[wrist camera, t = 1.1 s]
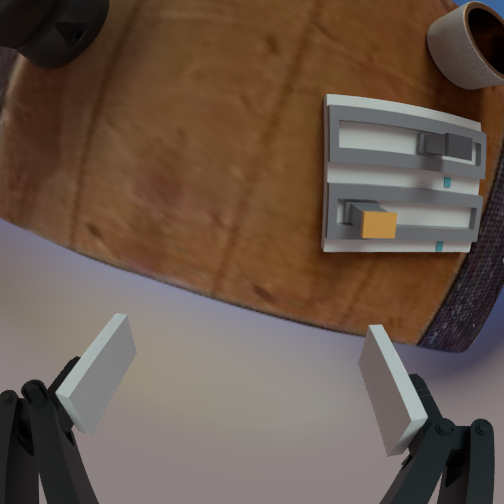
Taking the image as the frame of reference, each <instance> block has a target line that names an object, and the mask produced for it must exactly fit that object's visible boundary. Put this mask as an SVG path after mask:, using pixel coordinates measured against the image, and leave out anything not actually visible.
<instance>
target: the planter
mask: <svg viewBox="0 0 504 504" xmlns="http://www.w3.org/2000/svg"><path fill="white" fill-rule="evenodd" d="M427 44H428V48H429V52H430V54H431V57H432V59H433V61H434V62H435V64H436V66H437V67H438V69H439V70H440V71H441V72H442V74H443V75H444V76H445V77H446V78H447V79H448V80H449V81H451V82H452V83H453V84H455V85H456V86H458V87H460V88H463V89H470V90H474V89H479V88H485V87H490V86H495V85H501V84H504V19H503V18H502V17H501V16H500V15H499V14H498V13H497V12H496V11H494V10H493V9H492V8H490V7H489V6H487V5H485V4H483V3H481V2H477V1H471V2H468V3H466V4H464V5H463V6H461V7H459V8H457V9H455V10H454V11H452V12H450V13H448V14H447V15H445V16H443V17H441V18H440V19H438V20H436V21H435V22H433V23H432V25H431V26H430V27H429V29H428V32H427Z"/></svg>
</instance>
